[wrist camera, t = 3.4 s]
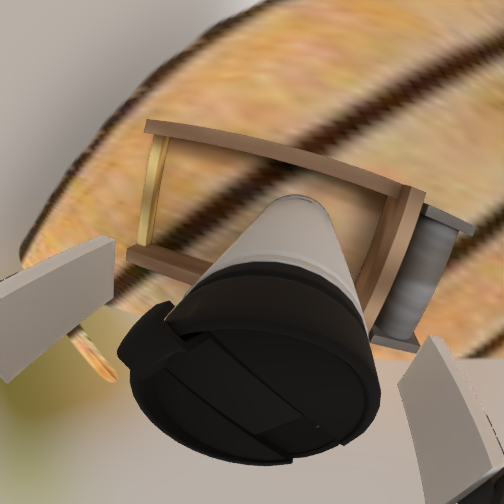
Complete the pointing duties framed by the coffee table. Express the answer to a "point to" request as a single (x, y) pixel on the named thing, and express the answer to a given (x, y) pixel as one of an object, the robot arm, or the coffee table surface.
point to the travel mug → (261, 347)
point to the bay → (380, 253)
